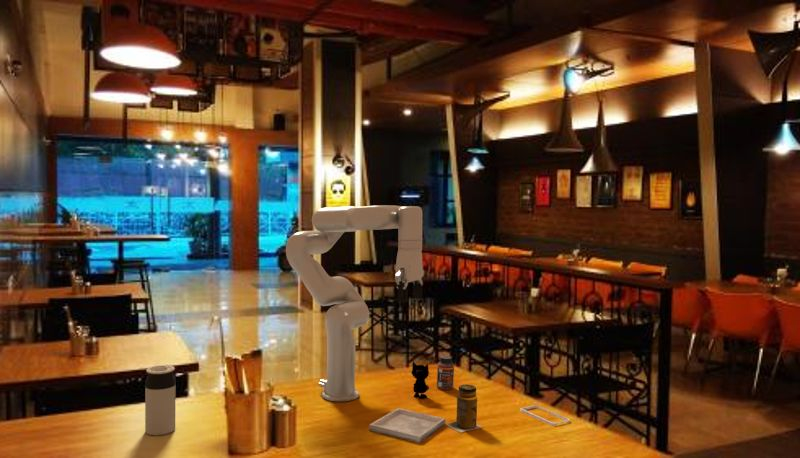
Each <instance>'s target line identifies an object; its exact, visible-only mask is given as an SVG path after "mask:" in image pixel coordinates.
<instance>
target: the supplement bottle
mask: <svg viewBox="0 0 800 458" xmlns="http://www.w3.org/2000/svg"><path fill="white" fill-rule="evenodd" d="M452 358H453V357H452V356H449V355H440V361H438V363H437V368H436V369H437V370H436V371H437V373H436V387H437V389H438V390H442V391H450V390H452V389H453V388H454V377H455V376H454V375H455V365H454V363H453V362H452V360H453V359H452Z"/></svg>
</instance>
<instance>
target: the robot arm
mask: <svg viewBox="0 0 800 458" xmlns="http://www.w3.org/2000/svg"><path fill="white" fill-rule="evenodd" d="M311 224H312V226H313V228H314V229H315V230H305V231H298V232H295V233H293V234H291V235H290V237H288V239H287V242H286V244H285V245H286V246H285V256H286V260H287V262H288V264H289V265H290V267H291V269H293V271H294V272H295V273H296V275H297V276H298V277H299V278H300V280H301V281H302V283H303V285H304V286H305V288H306V290H307V291H308V292H309V293H310V296H311V297H312V299H313V300H314V302H316V303H317V304H318V306H321V307H328V306H331V307H329V309H328V310H327V311H326V313H325V315H324V324H325V330H326V331H325V332H326V346H327V347H326V348H327V349H326V350H327V351H326V354H327V355H326V360H327V361H326V379H323V378H321V379H320V380H319V382H318V383H317V386H318V387H321V388H323V391H321V397H322V398H323V399H324V400H326V401H330V402H340V403H341V402H351V401H354V400H356V399H357V398H359V397H360V391H359V390H357V389H356V388H355V385H356V383H355V382H356V377H355V376H356V374H355V373H356V340H355V336H354V333H353V330H355V329H358V328H361V327H364V326H365V325H366V324H367V323H368V321H369V320H370V319H369V318H370V311H369V307H368V305H367V304H366V302H365V301H364V299H363V297H361V294H360V293H359V292H358V290H357V289H356V287H355V286H354V284H353V283H352V282H351V281H350V280H349V279H348V278H346V277H344V276H339V275H337V276H331V275H329V273H327V272H326V270H325V269H324V267H323V266H322V265H321V264H320V262H319V261H318V260H316V259H314V258H313V255H321V254H324V253H327V252H329V250H331V249H332V248H333V246H334V245H335V244H336V243H337V241H338V240H339V239H340V238H341V237H342V235H343V234H344V233H346V232H347V233H348V232H349V233H351V232H357V231H370V230H371V231H372V230H373V231H374V230H375V231H376V230H378V231H379V230H392V229H398V230H397V231H398V232H397V233H398V239H397V240H398V245H397V248H398V250H397V255H396V262H395V275H394V280H395V285H396V288H397V302H400V303H407V302H408V288H407V287H408V285H409V283H413V284H412V297H413V298H414V299H415V298H418V299H422V298H423V285H424V282H423V281H424V280H425V279H424V278H425V277H424V276H425V270H424V267H423V254H422V251H423V209H422V207H420V206H415V205H413V206H412V205H409V206H407V205H406V206H405V205H404V206H401V205H385V204H384V205H383V204H382V205H381V204H380V205H366V206H365V205H364V206H354V205H349V206H347V205H346V206H334V207H322V208H319V209H317V210H316V211H315V212H314V213H313V214H312V216H311ZM332 305H333V306H332Z"/></svg>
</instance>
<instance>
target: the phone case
mask: <svg viewBox="0 0 800 458" xmlns="http://www.w3.org/2000/svg"><path fill="white" fill-rule="evenodd" d="M532 409H539V410H544V411H546V412H548V414H550V415H552V416H553V417H556V418H560V419H562V420H561V421H558V422H553V421H550V420H547V419H546V418H543V417H542V416H539V415H536V414H534V413H532V412H531V411H528V410H532ZM519 410H520V413H523V414H525V415H528V416H530V417H532V418H534V419H537V420H539V421H541V422H543V423H545V424H547V425H550V426H551V427H557V426H558V425H559V424H563V423H567V424H568V423H571V420H570V418H568V417H565V416H563V415H561V414H558V413H556V412H554V411H551V410H549V409H547V408H544V407H543V406H539V405H537V404H534V405H529V406H525V407H520V409H519Z"/></svg>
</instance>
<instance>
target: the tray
mask: <svg viewBox="0 0 800 458" xmlns="http://www.w3.org/2000/svg"><path fill="white" fill-rule="evenodd" d="M446 420H447V419H446V417H445V418H444V417H440V416H435V415H430V414H427V413H421V412H417V411H412V410H410V409H409V410H408V409H405V408H404V409H403V408H400V407H398V408H396V409H393V410H392V411H390V412H389V413H387V414H386V415H384V416H382V417H380V418H379V419H377V420H374V421H373V422H371V423H370V424H369V425H368V426H369V432H373V433H377V434H382V435H385V436H388V437H389V436H390V437H393V438H397V439H402V440H405V441H410V442H414V443H417V444H421V443H423V442H424V441H425V440H426V439H428V438H429V437H430V436H432V435H433V434H434V433H436V432H437V431H439V430H440V429H442V428H443V427H444V426H447V425H446V424H447V422H446Z"/></svg>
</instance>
